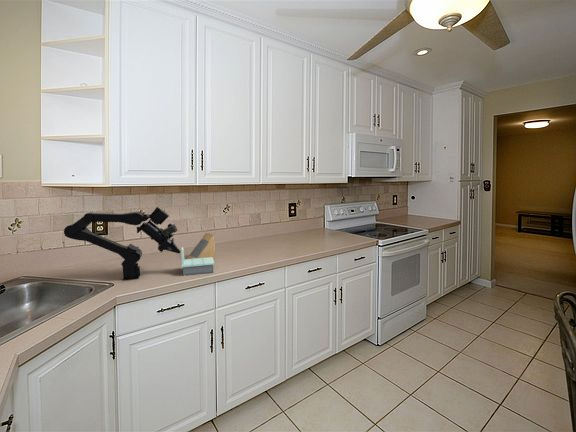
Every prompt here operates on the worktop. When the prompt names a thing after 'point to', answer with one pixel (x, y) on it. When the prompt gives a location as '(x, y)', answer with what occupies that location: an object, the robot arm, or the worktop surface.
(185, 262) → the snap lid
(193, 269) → the parts tub
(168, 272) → the worktop surface
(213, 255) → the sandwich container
